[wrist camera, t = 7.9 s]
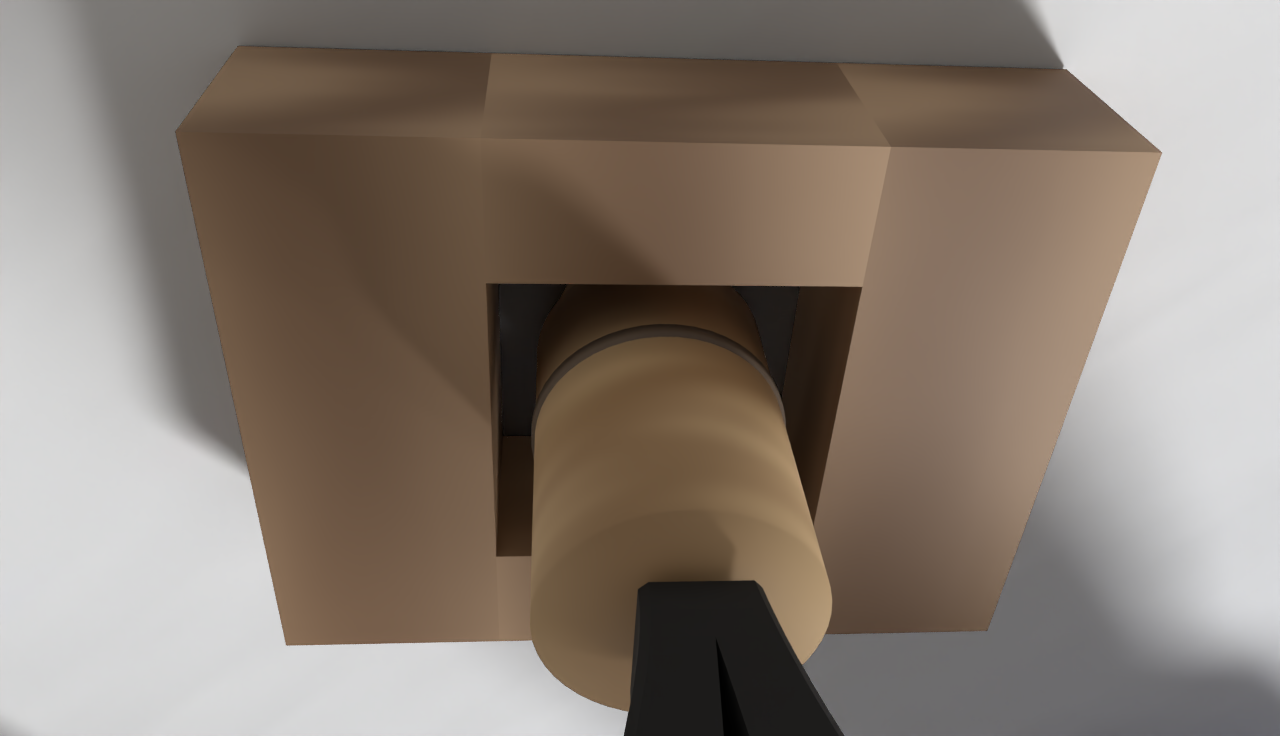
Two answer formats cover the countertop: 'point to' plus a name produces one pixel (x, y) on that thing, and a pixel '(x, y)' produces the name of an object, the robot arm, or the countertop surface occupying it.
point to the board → (646, 255)
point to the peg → (659, 474)
